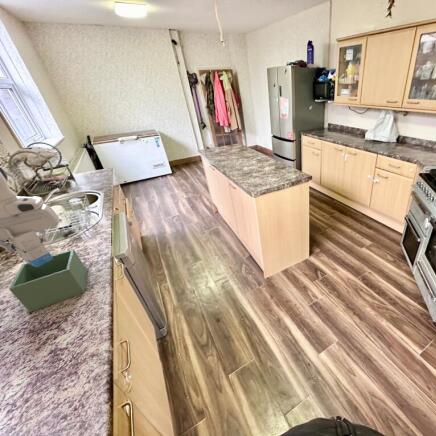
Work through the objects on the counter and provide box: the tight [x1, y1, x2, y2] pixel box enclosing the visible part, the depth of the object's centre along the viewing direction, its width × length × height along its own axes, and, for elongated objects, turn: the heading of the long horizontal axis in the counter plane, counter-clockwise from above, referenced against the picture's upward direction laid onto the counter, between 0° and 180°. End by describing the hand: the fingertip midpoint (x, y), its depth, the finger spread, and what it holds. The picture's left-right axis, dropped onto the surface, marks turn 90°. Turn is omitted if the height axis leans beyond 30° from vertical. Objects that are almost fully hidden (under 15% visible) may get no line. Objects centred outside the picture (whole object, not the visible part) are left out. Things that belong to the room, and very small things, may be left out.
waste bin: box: [9, 248, 88, 313], centre depth 84 cm, size 15×15×11 cm
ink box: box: [4, 228, 53, 267], centre depth 76 cm, size 9×5×15 cm, turn 65°
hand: (29, 245), depth 77 cm, fingers closed on ink box, 7 cm apart
